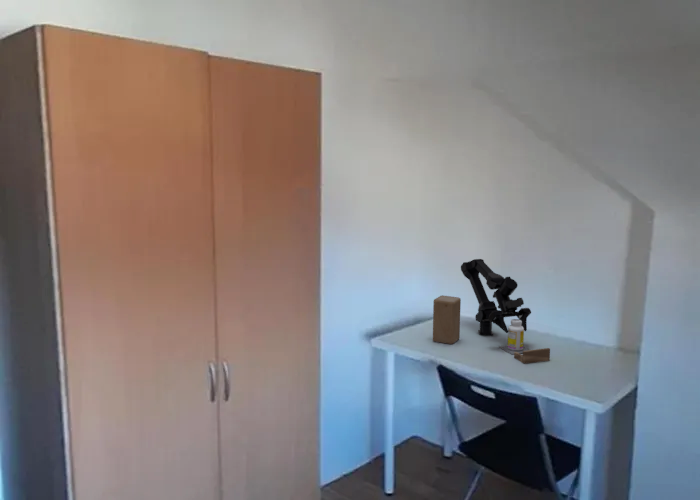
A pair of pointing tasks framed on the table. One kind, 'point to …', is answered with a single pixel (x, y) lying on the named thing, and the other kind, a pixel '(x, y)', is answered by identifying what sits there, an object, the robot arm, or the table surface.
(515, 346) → the supplement bottle
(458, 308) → the wooden block
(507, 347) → the pad
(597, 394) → the table surface
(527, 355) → the shelf lane
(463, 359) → the table surface
